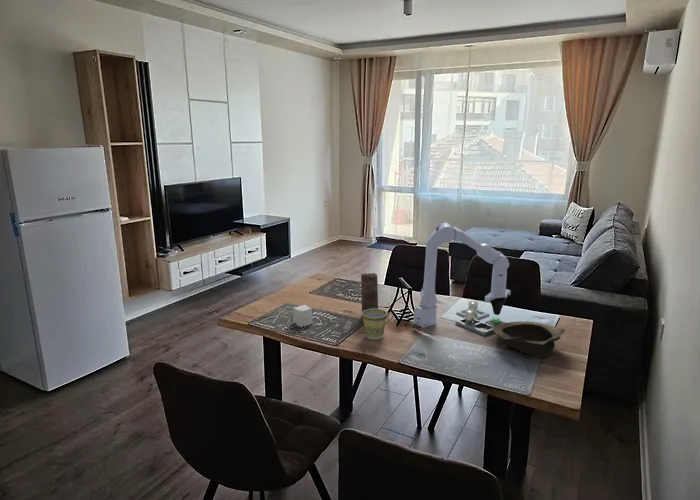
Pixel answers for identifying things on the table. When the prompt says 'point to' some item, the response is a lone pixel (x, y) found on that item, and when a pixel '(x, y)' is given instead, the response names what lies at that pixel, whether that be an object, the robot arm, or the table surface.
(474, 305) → the billet
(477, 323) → the pallet
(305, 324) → the skincare box
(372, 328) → the ceramic cup
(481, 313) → the grey square frame
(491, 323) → the button housing
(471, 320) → the billet
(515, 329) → the stone bowl
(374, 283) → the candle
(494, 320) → the button
